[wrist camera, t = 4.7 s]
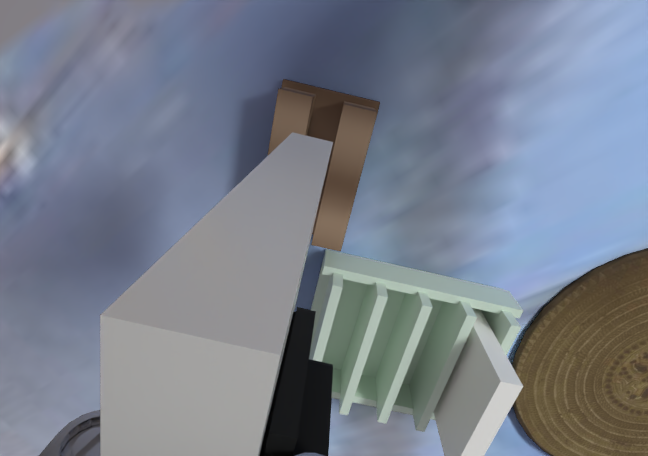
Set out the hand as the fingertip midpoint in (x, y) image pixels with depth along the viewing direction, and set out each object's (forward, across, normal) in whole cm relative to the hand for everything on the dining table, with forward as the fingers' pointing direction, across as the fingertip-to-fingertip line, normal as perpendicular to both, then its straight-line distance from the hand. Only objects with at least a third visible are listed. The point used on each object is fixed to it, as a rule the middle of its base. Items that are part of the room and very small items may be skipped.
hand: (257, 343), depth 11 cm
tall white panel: (+6, 0, 0) cm, 6 cm away
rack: (+23, -11, +14) cm, 29 cm away
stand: (+23, 0, 0) cm, 23 cm away
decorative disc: (+23, -38, +13) cm, 46 cm away
